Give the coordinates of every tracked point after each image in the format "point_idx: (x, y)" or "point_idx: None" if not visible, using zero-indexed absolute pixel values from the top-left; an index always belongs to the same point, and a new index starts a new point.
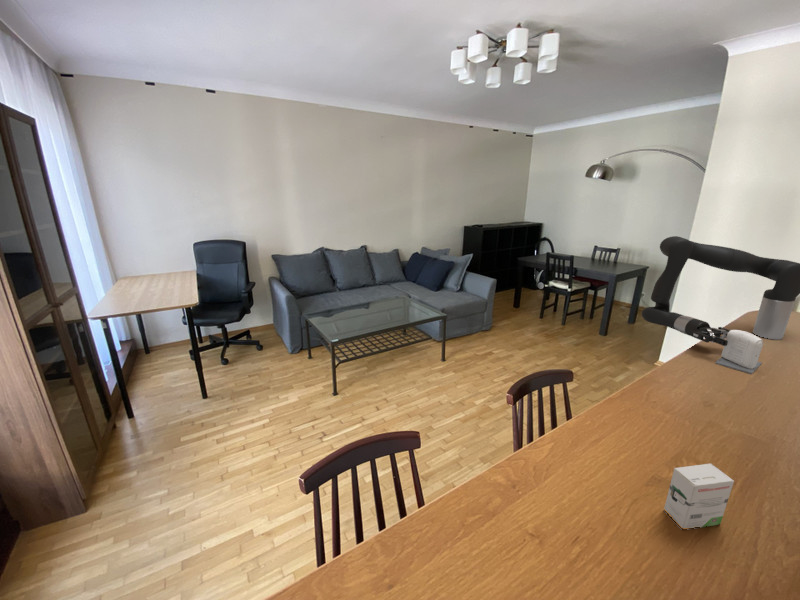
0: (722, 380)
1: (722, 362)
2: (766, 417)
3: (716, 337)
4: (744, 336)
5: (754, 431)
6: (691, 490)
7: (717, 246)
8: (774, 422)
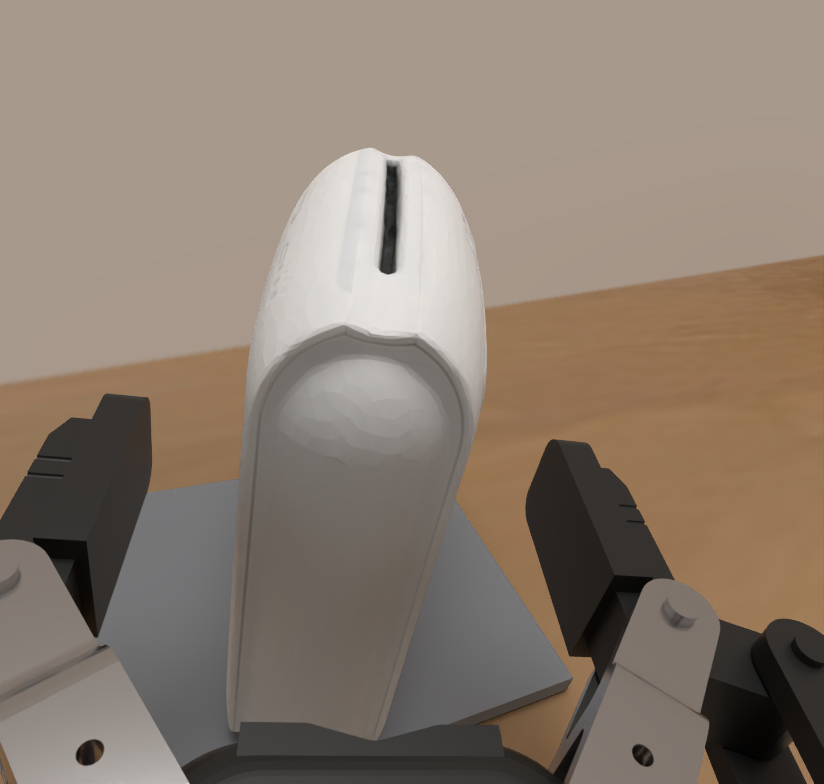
0: (717, 489)
1: (496, 643)
2: (719, 315)
3: (646, 568)
4: (466, 224)
5: (816, 310)
6: None
7: None
8: (712, 301)
